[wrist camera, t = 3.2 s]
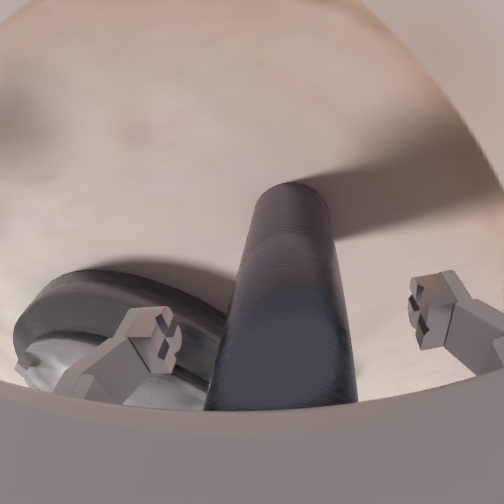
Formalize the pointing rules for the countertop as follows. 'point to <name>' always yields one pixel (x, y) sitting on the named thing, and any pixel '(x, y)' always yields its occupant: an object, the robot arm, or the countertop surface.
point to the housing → (121, 314)
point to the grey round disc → (78, 345)
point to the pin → (285, 313)
